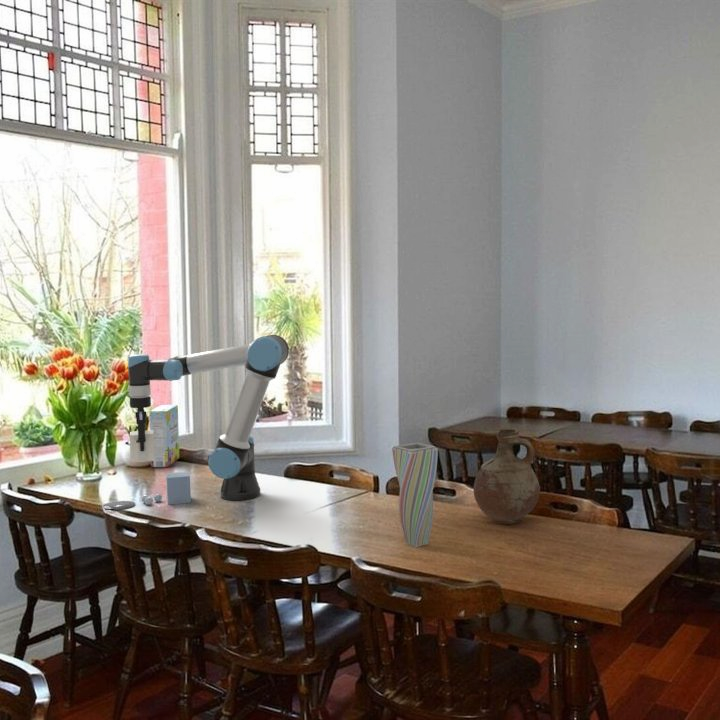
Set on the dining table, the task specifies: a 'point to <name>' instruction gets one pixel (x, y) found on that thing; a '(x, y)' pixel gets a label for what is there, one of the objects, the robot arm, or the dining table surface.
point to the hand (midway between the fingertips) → (142, 457)
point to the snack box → (165, 435)
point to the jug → (507, 481)
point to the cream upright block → (149, 446)
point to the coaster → (121, 505)
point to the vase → (415, 489)
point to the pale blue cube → (178, 487)
